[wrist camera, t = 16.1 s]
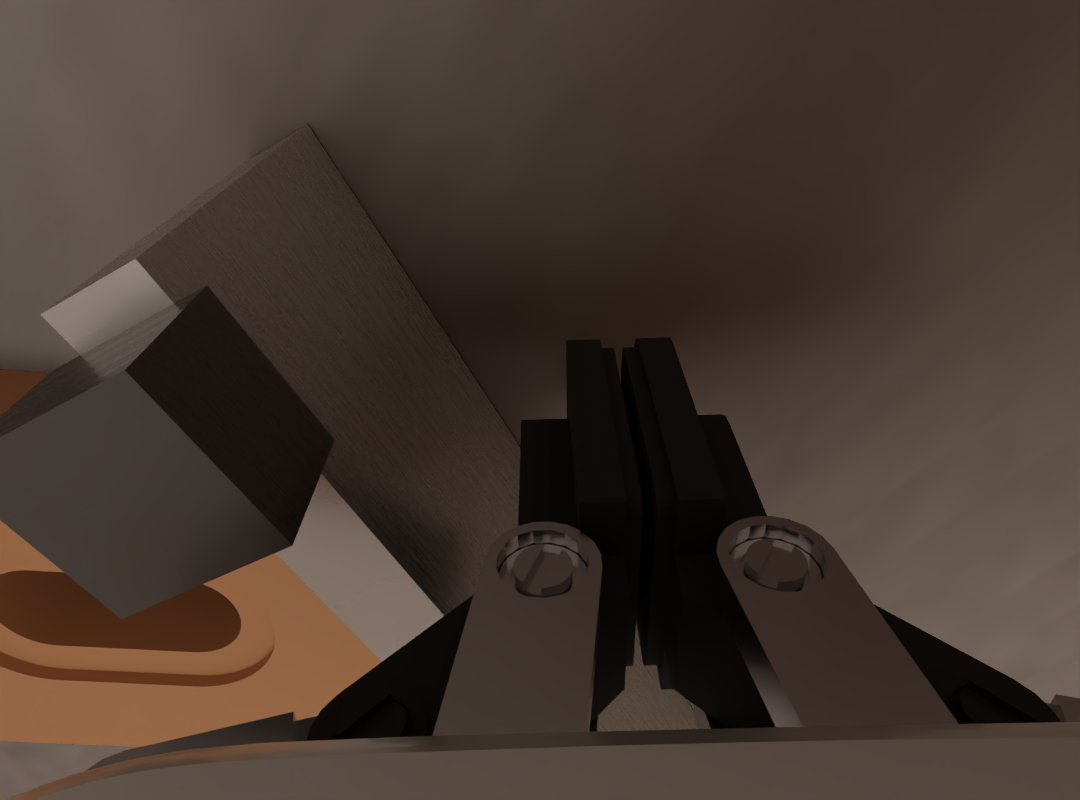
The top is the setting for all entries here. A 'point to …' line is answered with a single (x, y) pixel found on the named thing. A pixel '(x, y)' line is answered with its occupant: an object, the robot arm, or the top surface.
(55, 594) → the bracket
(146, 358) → the gate
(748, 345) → the top surface
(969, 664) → the robot arm
